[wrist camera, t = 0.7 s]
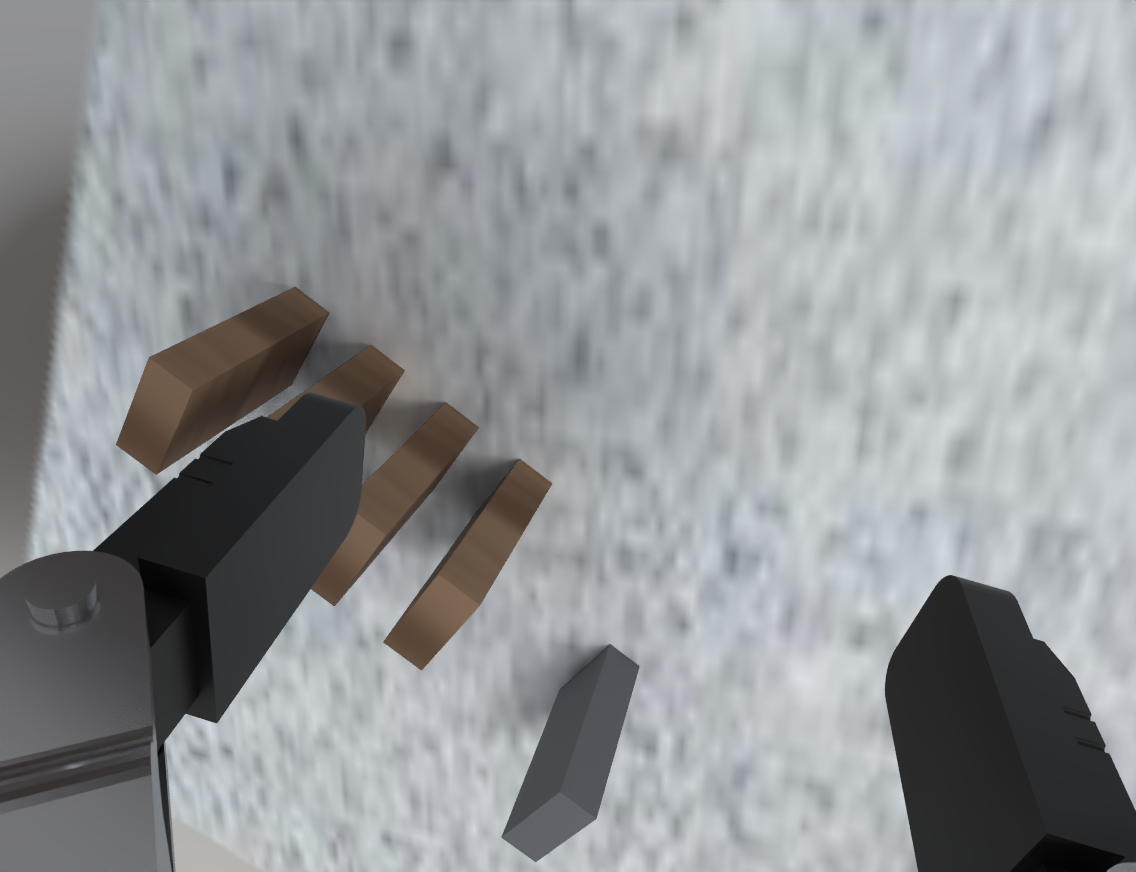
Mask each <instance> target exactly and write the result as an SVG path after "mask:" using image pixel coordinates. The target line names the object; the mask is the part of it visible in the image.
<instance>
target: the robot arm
mask: <svg viewBox="0 0 1136 872" xmlns="http://www.w3.org/2000/svg"><path fill="white" fill-rule="evenodd" d="M365 428H366V414H365V410H364V408H363V407H361V406H358V405H354V404H350V403H347V402H343V401H340V400H336V399H333V398H329V397H326V396H322V395H319V394H315V393H312V392H309V393H306V394H305V395H303V396H302V397H301V398H300V399H299V400H298V401H297V402H296V403H295V404H294V405H293V406H292V407H291V408H290V409H289V410H288V411H287V412H286V413H285V414H284V415H283V416H282V417H281V418H280V419H279V420H278V421H277V420H273V419H270V418H266V417H263V416H261V417H258V418H256V419H254V420H251V421H249V422H247V423H244V424H242V425H240V426H237V427H235V428H232V429H230V430H228V431H225V432H224V433H223V434H222V435H221V436H220V437H219V438H218V439H217V440H215V441H214V442H213V443H212V444H211V445H210V446H209V447H208V448H207V449H205V450H204V451H203V452H202V453H201V454H200V458H199V459H194V460H193V461H192V462H191V463H190V464H189V465H188V466H187V467H185V468H184V469H183V470H182V471H181V472H180V473H179V477H178V478H173V479H172V480H171V481H170V482H169V483H168V484H167V485H166V486H164V487H163V488H162V489H161V490H160V491H159V492H158V493H157V494H156V495H154V496H153V497H152V498H151V499H150V500H149V501H148V502H147V503H146V504H144V505H143V506H142V507H141V508H140V509H139V510H138V511H137V512H136V513H134V514H133V515H132V516H131V517H130V518H129V519H128V520H127V521H126V522H124V523H123V524H122V525H121V526H120V527H119V528H118V529H117V530H116V531H115V532H113V533H112V534H111V535H110V536H109V537H108V538H107V539H106V540H105V541H103V542H102V543H101V544H100V545H99V546H98V547H97V548H96V549H94V550H93V551H70V552H62V553H57V554H51V555H48V556H44V557H41V558H38V559H35V560H33V561H30V562H28V563H25V564H23V565H21V566H19V567H17V568H15V569H13V570H12V571H10V572H9V573H7V574H6V575H4V576H3V577H1V578H0V872H176V870H175V857H174V844H173V832H172V818H171V805H170V793H169V780H168V767H167V754H166V745H165V740H166V739H167V738H168V736H169V735H170V734H171V732H172V731H173V730H174V728H175V727H176V726H177V724H178V723H179V721H180V720H181V719H182V717H183V716H184V715H185V714H189V715H192V716H195V717H198V718H201V719H205V720H208V721H211V722H214V723H218V721H219V720H220V718H221V717H222V715H223V714H224V712H225V711H226V710H227V708H228V707H229V705H230V704H231V702H232V701H233V700H234V698H235V697H236V695H237V694H238V692H239V691H240V689H241V688H242V687H243V685H244V684H245V682H246V681H247V679H248V678H249V677H250V675H251V674H252V672H253V671H254V669H255V668H256V666H257V665H258V664H259V662H260V661H261V659H262V658H263V656H264V655H265V654H266V652H267V651H268V649H269V648H270V646H271V645H272V643H273V642H274V641H275V639H276V638H277V636H278V635H279V633H280V632H281V630H282V629H283V628H284V626H285V625H286V623H287V622H288V620H289V619H290V618H291V616H292V615H293V613H294V612H295V610H296V609H297V607H298V606H299V605H300V603H301V602H302V600H303V599H304V597H305V596H306V595H307V593H308V592H309V590H310V589H311V587H312V586H313V584H314V583H315V582H316V580H317V579H318V577H319V576H320V574H321V573H322V572H323V570H324V569H325V567H326V566H327V564H328V563H329V561H330V560H331V559H332V557H333V556H334V554H335V553H336V551H337V550H338V549H339V547H340V546H341V544H342V543H343V541H344V540H345V538H346V537H347V535H348V533H349V531H350V529H351V527H352V525H353V523H354V520H355V517H356V514H357V511H358V508H359V503H360V498H361V487H362V472H363V458H364V443H365ZM885 697H886V703H887V708H888V714H889V719H890V724H891V730H892V735H893V740H894V746H895V751H896V756H897V761H898V767H899V772H900V777H901V783H902V788H903V793H904V799H905V804H906V809H907V814H908V820H909V825H910V830H911V836H912V841H913V846H914V852H915V857H916V862H917V867H918V872H1136V811H1135V809H1134V806H1133V804H1132V802H1131V800H1130V798H1129V795H1128V793H1127V791H1126V789H1125V787H1124V785H1123V782H1122V780H1121V778H1120V776H1119V774H1118V771H1117V769H1116V767H1115V765H1114V763H1113V761H1112V758H1111V756H1110V754H1108V753H1105V751H1104V748H1105V746H1106V745H1105V743H1104V741H1103V739H1102V737H1101V734H1100V732H1099V730H1098V728H1097V726H1096V723H1095V722H1092V721H1090V717H1091V712H1090V710H1089V708H1088V706H1087V704H1086V702H1085V699H1084V697H1083V695H1082V693H1081V691H1080V688H1079V686H1078V684H1077V682H1076V680H1075V678H1074V677H1073V675H1072V674H1071V673H1070V672H1069V671H1068V669H1067V668H1066V667H1065V666H1064V665H1063V664H1062V662H1061V661H1060V660H1059V659H1058V658H1057V657H1056V655H1055V654H1054V653H1053V652H1052V651H1051V649H1050V648H1049V647H1048V646H1047V645H1046V644H1045V642H1043V641H1040V640H1036V639H1033V637H1032V634H1031V632H1030V630H1029V627H1028V625H1027V623H1026V620H1025V618H1024V616H1023V613H1022V611H1021V608H1020V606H1019V604H1018V601H1017V600H1016V598H1015V596H1014V595H1013V594H1012V593H1010V592H1009V591H1006V590H1002V589H999V588H995V587H991V586H988V585H984V584H981V583H977V582H974V581H970V580H967V579H963V578H960V577H956V576H953V575H948V576H946V577H944V578H943V579H941V580H940V581H939V582H938V584H937V585H936V586H935V588H934V589H933V591H932V593H931V594H930V596H929V597H928V599H927V600H926V602H925V604H924V605H923V607H922V608H921V610H920V611H919V613H918V615H917V616H916V618H915V619H914V621H913V622H912V624H911V626H910V627H909V629H908V630H907V632H906V633H905V635H904V636H903V638H902V640H901V641H900V643H899V644H898V646H897V647H896V649H895V651H894V653H893V655H892V657H891V659H890V662H889V665H888V669H887V674H886V681H885Z"/></svg>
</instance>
